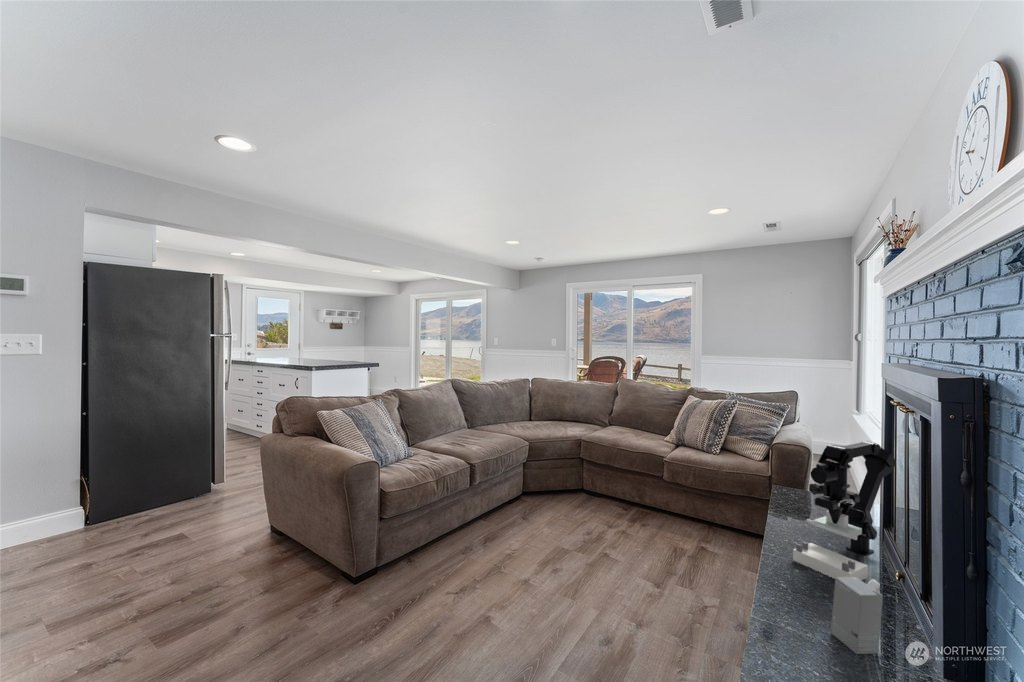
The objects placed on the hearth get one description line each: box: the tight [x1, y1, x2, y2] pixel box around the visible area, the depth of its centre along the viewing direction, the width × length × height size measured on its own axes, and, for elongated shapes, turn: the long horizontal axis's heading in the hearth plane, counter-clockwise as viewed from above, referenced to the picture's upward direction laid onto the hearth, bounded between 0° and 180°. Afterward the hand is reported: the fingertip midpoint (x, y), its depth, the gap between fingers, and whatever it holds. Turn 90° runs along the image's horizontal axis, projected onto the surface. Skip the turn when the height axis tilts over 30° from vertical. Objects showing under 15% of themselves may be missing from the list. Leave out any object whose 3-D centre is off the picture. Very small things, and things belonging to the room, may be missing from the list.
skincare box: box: [830, 577, 884, 655], centre depth 114 cm, size 8×7×16 cm
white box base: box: [792, 541, 869, 581], centre depth 151 cm, size 11×18×6 cm, turn 27°
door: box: [806, 510, 862, 540], centre depth 159 cm, size 9×16×6 cm, turn 27°
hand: (836, 522), depth 159 cm, fingers closed on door, 2 cm apart
